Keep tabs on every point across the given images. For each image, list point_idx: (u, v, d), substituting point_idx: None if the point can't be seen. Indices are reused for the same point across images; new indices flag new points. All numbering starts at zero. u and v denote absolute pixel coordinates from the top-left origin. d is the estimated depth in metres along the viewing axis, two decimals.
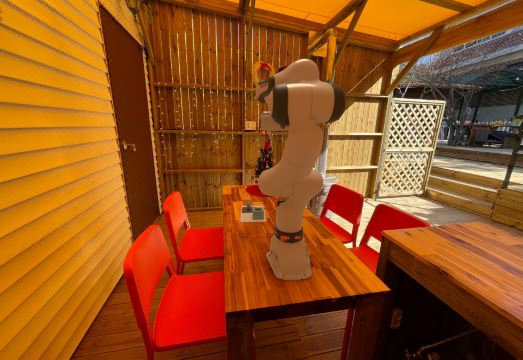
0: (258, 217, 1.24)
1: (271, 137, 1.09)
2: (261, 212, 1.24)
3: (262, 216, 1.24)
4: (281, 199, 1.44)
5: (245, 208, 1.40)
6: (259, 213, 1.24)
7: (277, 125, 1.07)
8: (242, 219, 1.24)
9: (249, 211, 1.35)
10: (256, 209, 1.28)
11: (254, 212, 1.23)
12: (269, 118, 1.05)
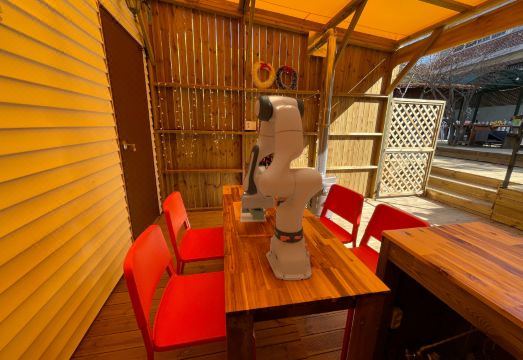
0: (258, 217, 1.24)
1: (251, 213, 1.26)
2: (261, 212, 1.24)
3: (262, 216, 1.24)
4: (281, 199, 1.44)
5: (245, 208, 1.40)
6: (259, 213, 1.24)
7: (255, 204, 1.24)
8: (242, 219, 1.24)
9: (249, 211, 1.35)
10: (256, 209, 1.28)
11: (254, 212, 1.23)
12: (248, 199, 1.23)
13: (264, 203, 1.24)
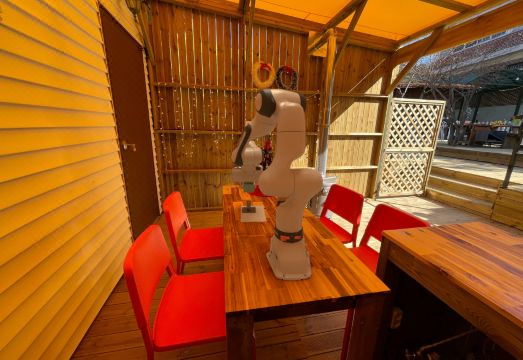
0: (248, 190, 1.31)
1: (242, 186, 1.33)
2: (251, 185, 1.30)
3: (252, 189, 1.31)
4: (281, 199, 1.44)
5: (245, 208, 1.40)
6: (249, 186, 1.30)
7: (245, 178, 1.30)
8: (242, 219, 1.24)
9: (249, 211, 1.35)
10: (247, 183, 1.35)
11: (244, 185, 1.30)
12: (238, 172, 1.29)
13: (254, 177, 1.31)
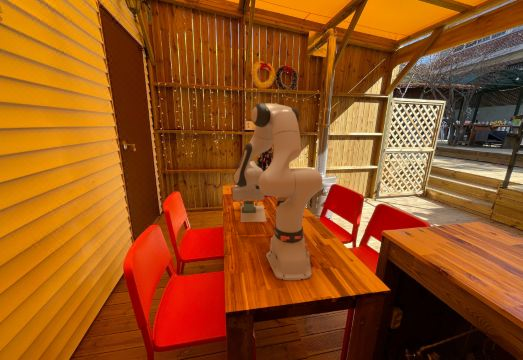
0: (248, 209, 1.34)
1: (241, 204, 1.36)
2: (251, 205, 1.34)
3: (252, 208, 1.34)
4: (281, 199, 1.44)
5: None
6: (249, 206, 1.34)
7: (245, 196, 1.33)
8: (242, 219, 1.24)
9: None
10: None
11: (245, 205, 1.33)
12: (239, 191, 1.32)
13: (254, 195, 1.34)
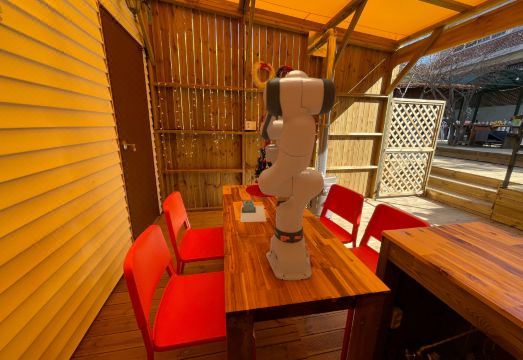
0: (248, 209, 1.34)
1: None
2: (251, 205, 1.34)
3: (252, 208, 1.34)
4: (281, 199, 1.44)
5: None
6: (249, 206, 1.34)
7: None
8: (242, 219, 1.24)
9: None
10: None
11: (245, 205, 1.33)
12: (273, 151, 1.14)
13: None
